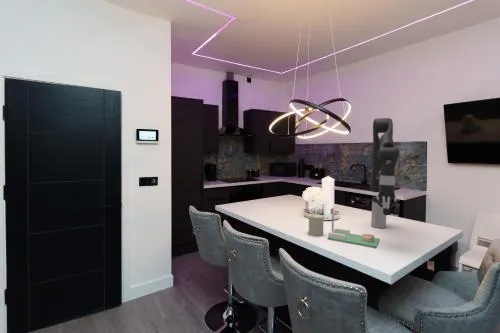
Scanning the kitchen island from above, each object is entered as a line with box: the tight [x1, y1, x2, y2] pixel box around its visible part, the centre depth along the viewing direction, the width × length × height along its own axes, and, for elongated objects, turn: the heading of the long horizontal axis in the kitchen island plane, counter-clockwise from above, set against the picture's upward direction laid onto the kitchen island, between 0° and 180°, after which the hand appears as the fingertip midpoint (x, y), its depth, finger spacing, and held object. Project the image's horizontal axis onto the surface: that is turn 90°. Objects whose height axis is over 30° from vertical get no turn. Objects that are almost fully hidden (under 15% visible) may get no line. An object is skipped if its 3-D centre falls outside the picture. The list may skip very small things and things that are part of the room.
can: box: [307, 213, 325, 237], centre depth 166 cm, size 9×9×12 cm
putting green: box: [327, 233, 380, 249], centre depth 157 cm, size 16×26×1 cm, turn 58°
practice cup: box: [327, 207, 351, 240], centre depth 160 cm, size 13×10×16 cm
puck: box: [362, 233, 375, 242], centre depth 152 cm, size 6×6×3 cm
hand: (385, 215), depth 147 cm, fingers closed
